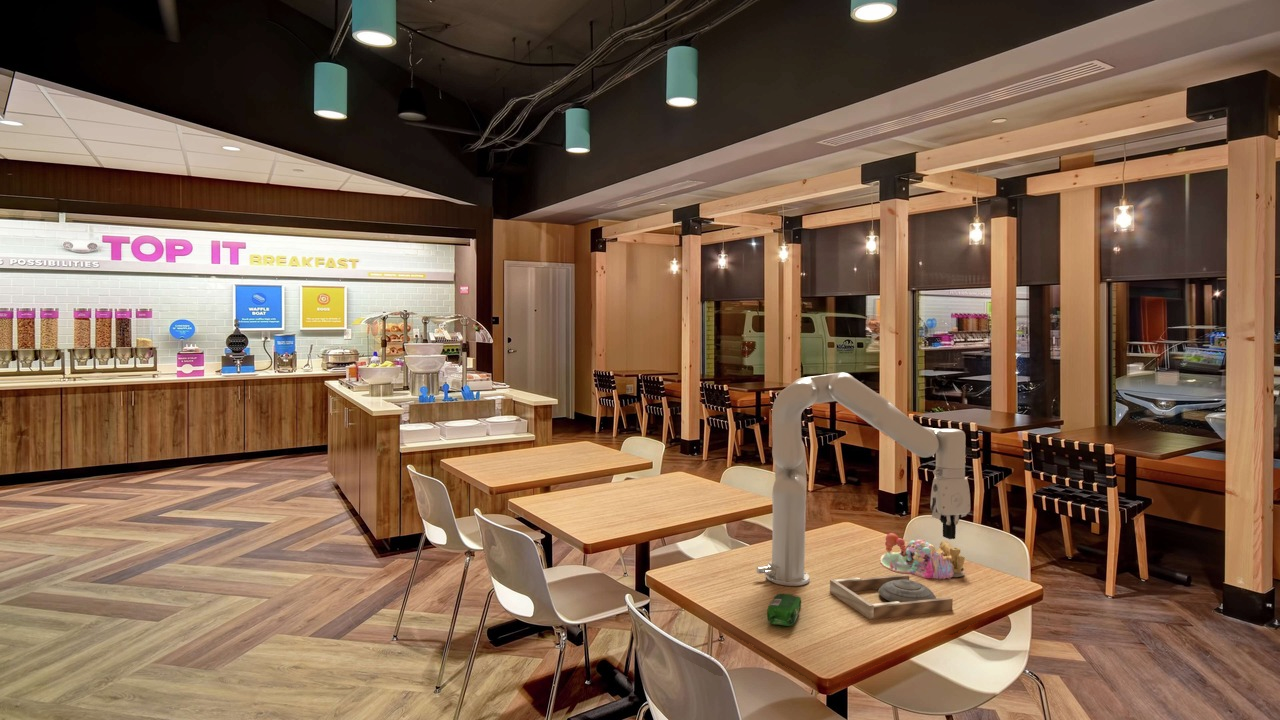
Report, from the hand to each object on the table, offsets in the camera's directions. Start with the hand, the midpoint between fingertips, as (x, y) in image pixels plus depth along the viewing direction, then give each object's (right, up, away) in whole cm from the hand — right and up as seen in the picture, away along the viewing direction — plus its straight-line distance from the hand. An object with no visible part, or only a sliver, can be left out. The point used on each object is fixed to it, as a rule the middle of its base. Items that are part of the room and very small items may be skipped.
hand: (949, 537), depth 196 cm
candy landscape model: (+2, -16, +24) cm, 29 cm away
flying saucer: (-13, -17, -3) cm, 21 cm away
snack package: (-50, -17, -17) cm, 56 cm away
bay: (-18, -16, -4) cm, 24 cm away
